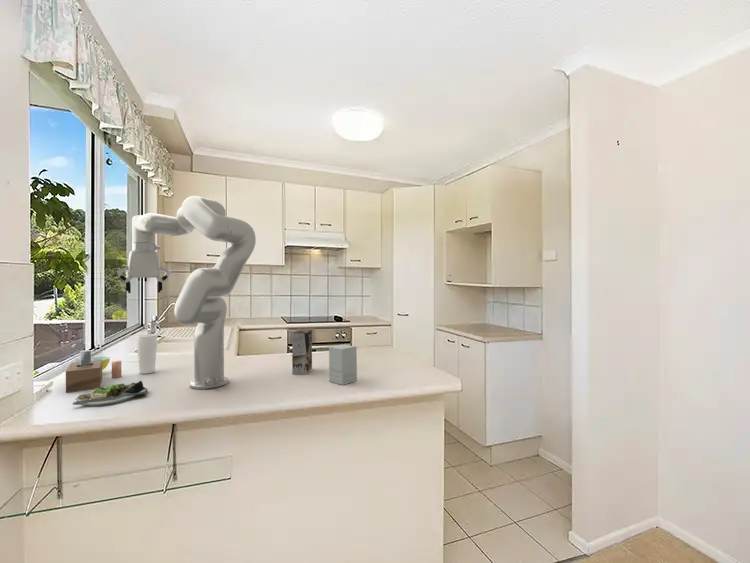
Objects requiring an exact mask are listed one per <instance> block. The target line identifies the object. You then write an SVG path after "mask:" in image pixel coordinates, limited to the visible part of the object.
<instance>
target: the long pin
mask: <svg viewBox="0 0 750 563" xmlns="http://www.w3.org/2000/svg"><path fill="white" fill-rule="evenodd" d="M91 355H92V350H89V349H86V350H80V351H79V359H80V367H82V366H91V357H92V356H91Z"/></svg>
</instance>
